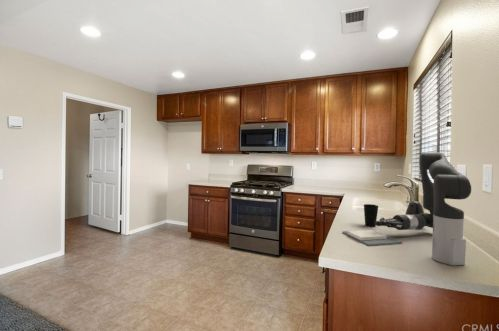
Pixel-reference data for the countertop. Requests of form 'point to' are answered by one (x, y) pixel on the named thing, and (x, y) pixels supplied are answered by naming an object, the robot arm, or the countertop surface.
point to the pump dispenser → (414, 208)
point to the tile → (367, 235)
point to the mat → (375, 240)
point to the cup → (370, 214)
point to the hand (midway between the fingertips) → (376, 223)
